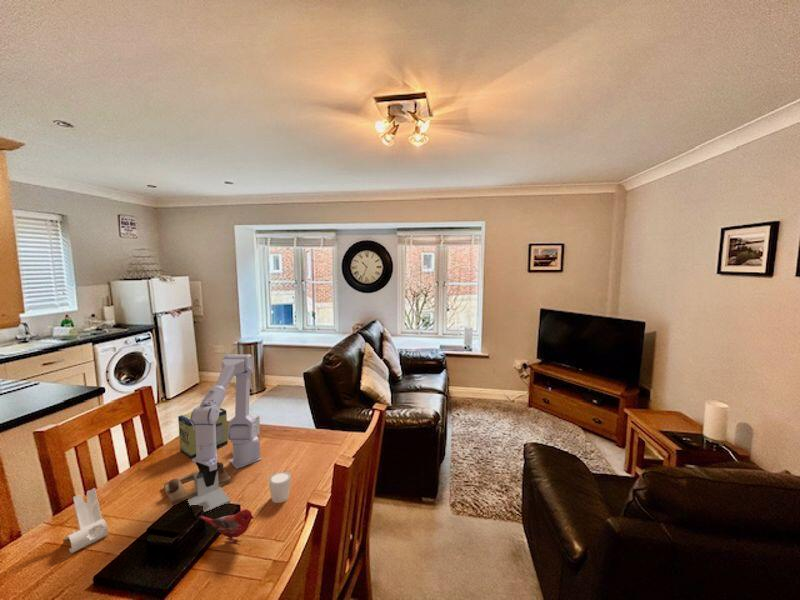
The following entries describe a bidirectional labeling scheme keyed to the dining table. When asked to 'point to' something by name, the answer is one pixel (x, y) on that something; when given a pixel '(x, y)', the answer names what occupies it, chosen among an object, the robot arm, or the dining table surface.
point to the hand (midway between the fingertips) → (207, 482)
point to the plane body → (179, 494)
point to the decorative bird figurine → (231, 524)
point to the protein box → (188, 433)
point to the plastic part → (87, 522)
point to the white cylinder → (279, 486)
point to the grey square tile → (210, 500)
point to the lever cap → (200, 484)
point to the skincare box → (257, 425)
